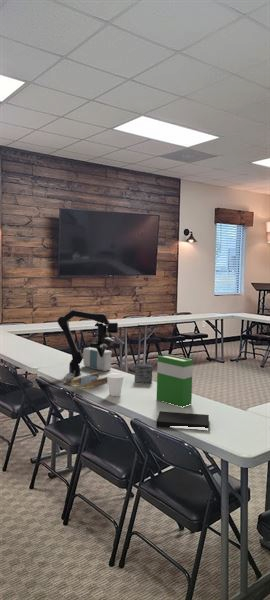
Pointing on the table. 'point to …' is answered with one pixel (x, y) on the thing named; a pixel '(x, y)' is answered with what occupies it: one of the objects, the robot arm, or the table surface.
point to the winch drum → (69, 377)
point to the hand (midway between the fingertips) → (101, 357)
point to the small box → (143, 373)
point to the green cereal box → (174, 380)
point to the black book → (182, 419)
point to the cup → (115, 383)
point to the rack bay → (89, 384)
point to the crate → (88, 379)
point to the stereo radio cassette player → (97, 359)
